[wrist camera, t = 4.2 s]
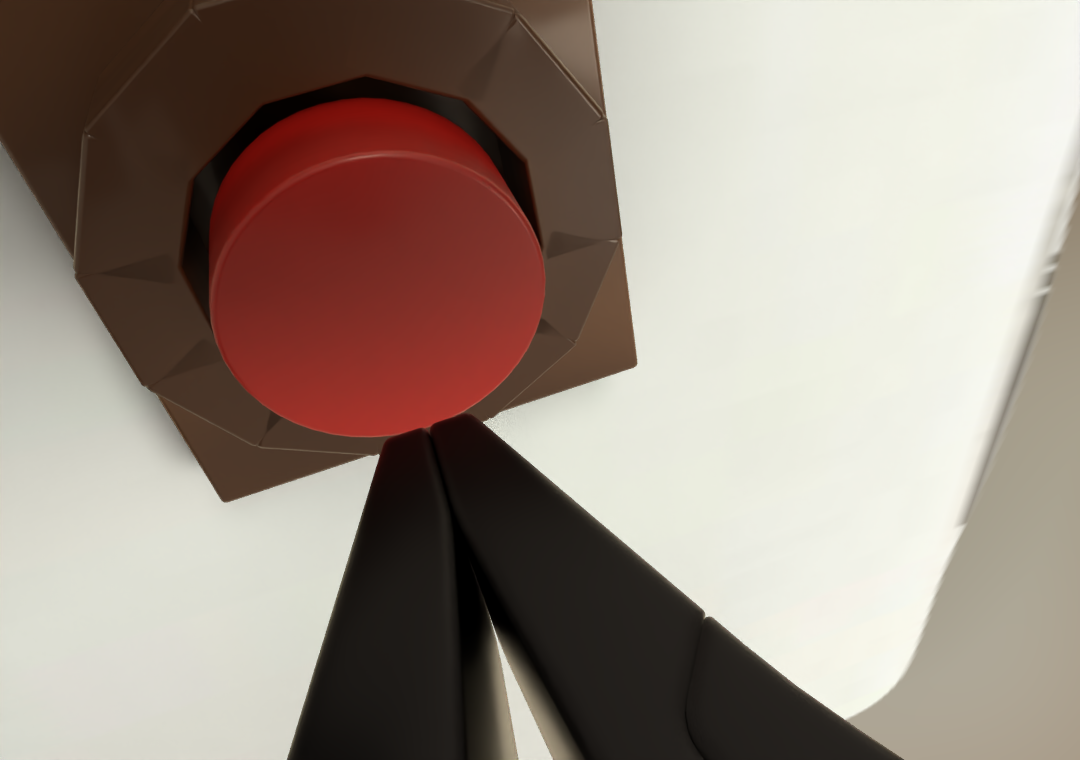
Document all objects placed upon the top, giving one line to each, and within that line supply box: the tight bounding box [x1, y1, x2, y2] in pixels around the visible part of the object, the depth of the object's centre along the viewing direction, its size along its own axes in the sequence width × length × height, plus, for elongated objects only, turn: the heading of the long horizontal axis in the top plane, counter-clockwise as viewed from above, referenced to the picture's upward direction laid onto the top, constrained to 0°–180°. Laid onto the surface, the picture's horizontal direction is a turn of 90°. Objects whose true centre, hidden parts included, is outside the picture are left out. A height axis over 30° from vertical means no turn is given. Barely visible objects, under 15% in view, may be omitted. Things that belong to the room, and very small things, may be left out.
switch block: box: [0, 0, 637, 502], centre depth 13 cm, size 10×8×3 cm
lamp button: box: [209, 98, 545, 437], centre depth 11 cm, size 4×4×2 cm
